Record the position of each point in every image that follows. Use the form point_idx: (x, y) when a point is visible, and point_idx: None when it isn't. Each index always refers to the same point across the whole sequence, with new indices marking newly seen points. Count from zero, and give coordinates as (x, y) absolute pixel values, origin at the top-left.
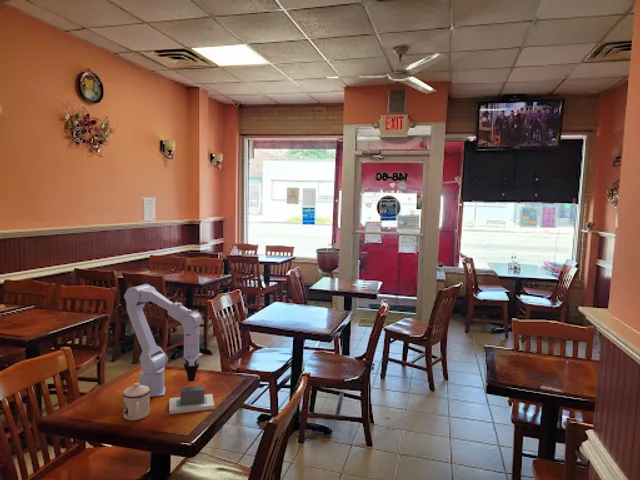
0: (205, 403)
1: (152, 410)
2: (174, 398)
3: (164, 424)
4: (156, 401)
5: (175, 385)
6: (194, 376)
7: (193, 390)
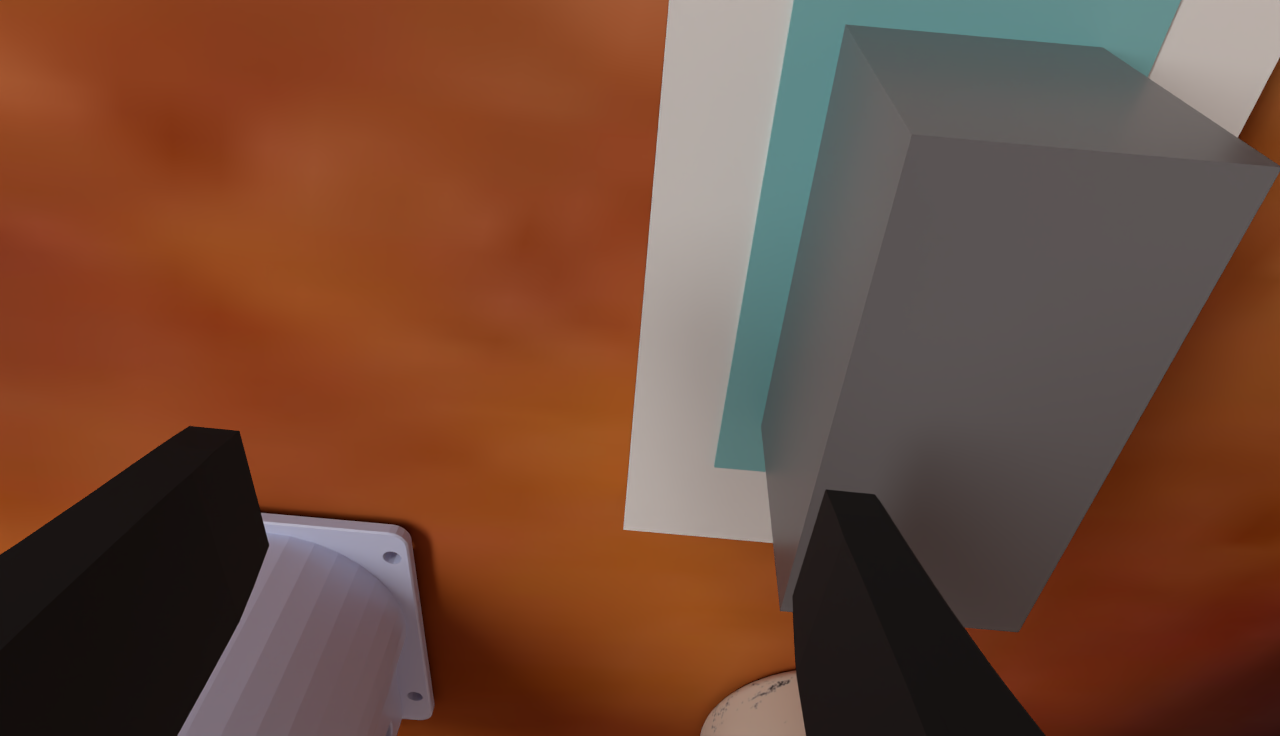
0: (1173, 25)
1: (789, 637)
2: (653, 482)
3: (1235, 576)
4: (557, 595)
5: (31, 376)
6: (953, 630)
7: (1106, 427)
